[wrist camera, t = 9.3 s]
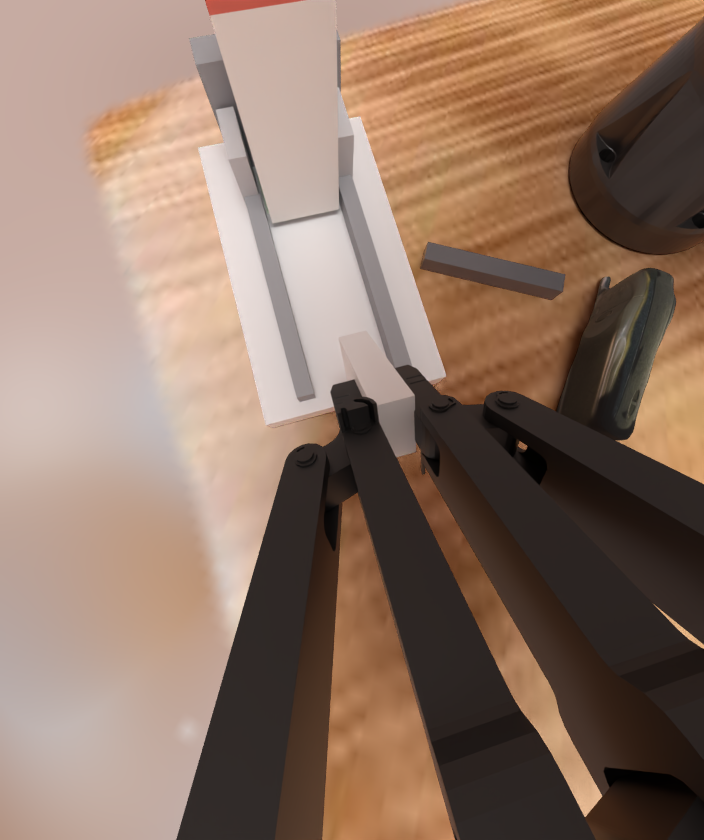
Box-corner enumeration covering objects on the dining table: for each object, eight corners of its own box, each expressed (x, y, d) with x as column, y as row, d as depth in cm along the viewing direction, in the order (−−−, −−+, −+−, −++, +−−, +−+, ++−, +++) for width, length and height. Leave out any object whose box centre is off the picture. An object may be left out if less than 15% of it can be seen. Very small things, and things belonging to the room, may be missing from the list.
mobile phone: (644, 445, 18) (695, 248, 19) (600, 428, 18) (655, 233, 19) (578, 445, 22) (623, 289, 24) (544, 432, 23) (591, 277, 24)
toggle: (338, 209, 21) (335, -59, 10) (272, 223, 21) (193, -38, 10) (321, 152, 22) (300, -159, 11) (256, 165, 22) (165, -143, 10)
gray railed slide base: (437, 383, 22) (489, 344, 14) (272, 427, 21) (231, 412, 13) (358, 142, 25) (366, -2, 17) (209, 172, 24) (145, 34, 16)
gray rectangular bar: (550, 286, 24) (565, 274, 23) (548, 302, 24) (562, 291, 22) (422, 255, 24) (428, 241, 23) (419, 271, 24) (424, 258, 22)
